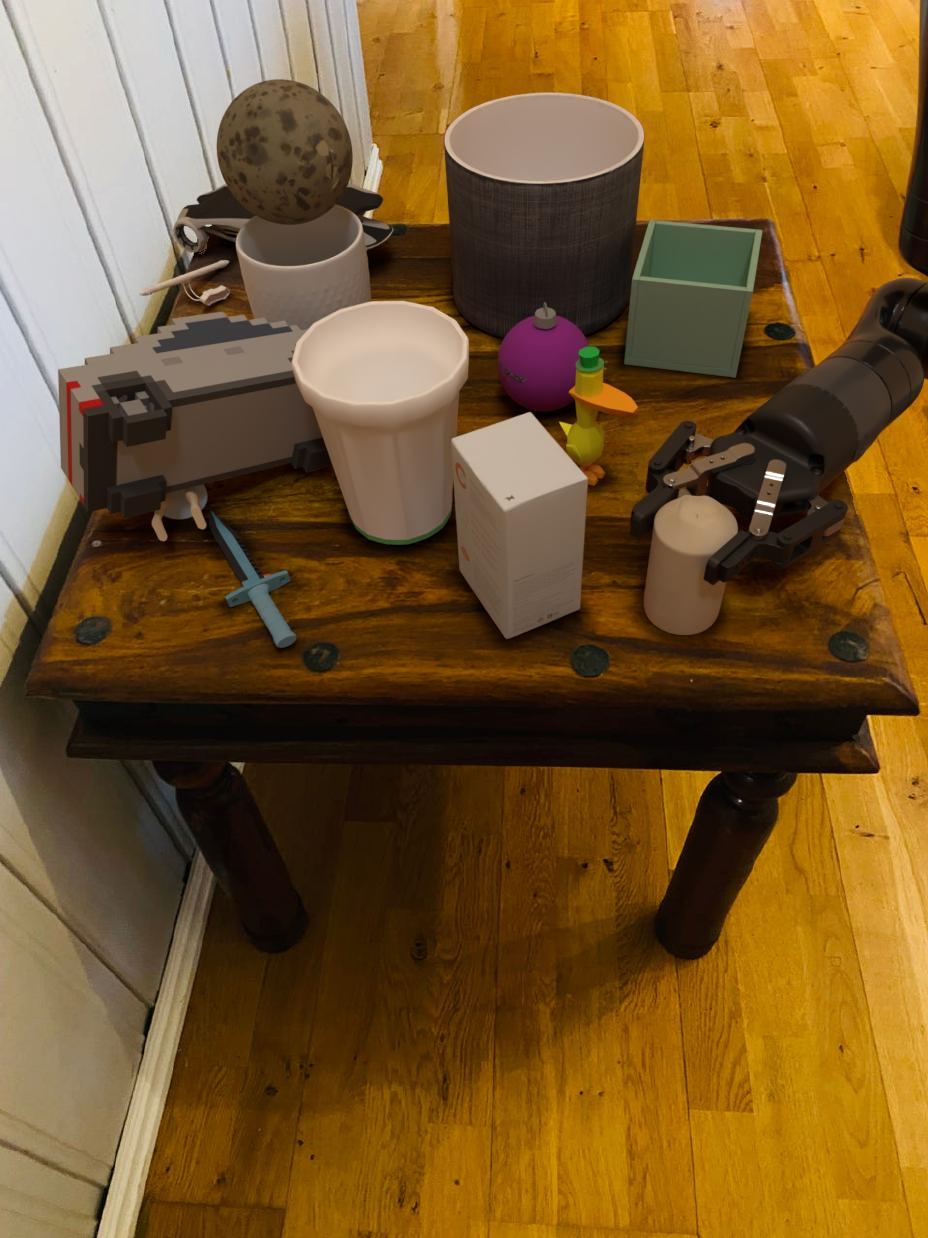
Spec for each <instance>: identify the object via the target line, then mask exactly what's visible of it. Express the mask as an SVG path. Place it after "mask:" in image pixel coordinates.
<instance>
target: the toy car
mask: <svg viewBox="0 0 928 1238" xmlns="http://www.w3.org/2000/svg"><path fill="white" fill-rule="evenodd" d="M170 322H171V323H170V324H168V325H161V326H157V333H152V334H146V335H145V334H144V335H139V336H134V337H133V338H134V339H133V343H129V344H122V345H116V346H112V347H111V346H110V347H109V353H108V354H103V355H102V354H101V355H96V356H90V357H84V364H82V365H77V366H76V365H75V366H70V367H69V366H68V367H64V368H58V369H57V379H58V380H57V382H58V414H59V418H58V419H59V450H60V469H61V471H62V472H63V473H64V475H65V477H66V479H67V481H68V482H69V484H70V486H71V487H72V489H73V491H74V492H75V494H76V496H77V497H78V499H79V501H80V502H81V504H82V506H83V507H84V509H85V511H86V512H87V513H92V512H96V511H101V510H104V509H107V511H108V513H109V514H110V515H114V514H119V513H120V515H121V517H122V518H123V519H124V520H125V519H129V518H133V517H137V516H141V515H144V514H148V513H152V512H155V511H157V510H160V508H161V502H163V501H165V497H166V493H170V492H174V491H178V490H182V489H187V488H191V487H195V486H199V485H203V484H204V485H206V484H210V483H211V484H212V483H214V482H219V481H223V480H228V479H232V478H235V477H236V478H237V477H240V476H245V475H247V474H252V473H256V472H260V471H264V470H268V469H272V468H277V467H280V466H285V465H288V464H290V465H291V466H292V467H293V468H294V469H295V470H296V469H300V468H303V470H304V471H305V473H312V472H315V471H318V470H322V469H323V470H324V469H326V468H327V469H328V468H331V467H333V465H332V462H331V459H330V456H329V453H328V451H327V448H326V445H325V442H324V439H323V436H322V433H321V430H320V427H319V425H318V422H317V419H316V416H315V413H314V410H313V407H312V406H310V405H309V404H308V403H306V402H305V400H304V398H303V396H302V394H301V392H300V390H299V388H298V386H297V383H296V381H295V377H294V373H293V369H292V365H291V363H292V359H293V355H294V351H295V347H296V343H297V341H298V340H299V339H300V338H301V337H302V336H303V335H304V334H305V333H306V331H307V330H308V329H306V330H300V328H299V327H298V326H297V325H293V326H288V324H287V323H286V322H285V321H279V322H272V323H268V322H267V320H266V319H265V318H258V319H254V318H253V319H248V318H247V316H245V314H239V315H232V316H227V314H226V313H225V312H224V311H217V312H210V313H203V314H202V313H201V314H196V315H189V316H182V317H175V318H173V317H172V318H171V321H170Z"/></svg>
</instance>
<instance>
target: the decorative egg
mask: <svg viewBox="0 0 928 1238" xmlns="http://www.w3.org/2000/svg"><path fill="white" fill-rule="evenodd" d="M216 135H217V136H216V157H217V162H218V167H219V170H220V174H221V176H222V179H223V181H224V184H226V185H227V186H228V188H229V190H230V191H231V193H232V194H233V195H234V197H235V198H236V199H237V200H238V201H239V202H240V203H241V204H242V205H243V206H244V207H245V208H246V209H247V210H249V211H250V212H251V213H253V214H255V215H256V216H258V217H260V218H262V219H264V220H267V221H270V222H273V223H277V224H284V225H296V224H303V223H307V222H310V221H313V220H315V219H317V218H319V217H321V216H323V215H324V214H326V213H327V212H328V211H329V210H331V209H332V208H333V207H334V206H335V205H336V204H337V202H338V201H339V200H340V198H341V197H342V195H343V194H344V192H345V190H346V188H347V186H348V183H349V182H350V180H351V176H352V172H353V171H352V170H353V161H354V153H353V144H352V140H351V136H350V132H349V130H348V127H347V125H346V122H345V120H344V119H343V117H342V116H341V114H340V112H339V110H338V109H337V108H336V107H335V106H334V104H333V103H332V102H331V101H330V100H329V99H328V98H327V97H326V96H325V95H324V94H322V93H321V92H319V91H318V90H316V89H315V88H313V87H312V86H309V85H307V84H305V83H302V82H299V81H295V80H291V79H283V78H278V79H275V78H273V79H267V80H264V81H260V82H257V83H255V84H253V85H251V86H249V87H247V88H245V89H244V90H242V91H241V92H240V93H239V94H238V95H237V96H235V98H234V99H233V100H232V101H231V102H230V104H229V105H228V107H227V108H226V109H225V111H224V113H223V115H222V117H221V120H220V123H219V126H218V130H217V134H216Z"/></svg>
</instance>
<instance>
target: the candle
mask: <svg viewBox="0 0 928 1238" xmlns="http://www.w3.org/2000/svg"><path fill="white" fill-rule="evenodd" d="M738 532H739V526H738V521H737V519H736V517H735V515H734V514H733V513H732V511H731V510H729V508H728V507H726V506H725V505H723V504H720V503H719V502H717V501H716V500H714V499H713V498H711V497H709V496H691V495H684V496H682V497H680V498H678V499H675V500H672V501H670V502H668V503H666V504H665V505H664V506H662V507H661V508H660V509H659V511H658V512H657V514H656V516H655V520H654V527H653V530H652V534H651V543H650V548H649V557H648V562H647V563H648V564H647V571H646V577H645V584H644V585H645V586H644V592H643V608H644V612H645V615H646V617H647V618H648V620H649V622H650V623H652V624H653V625H654V626H655V627H656V628H658V629H660V630H661V631H664V632H666V633H669V634H672V635H678V636H693V635H697V634H700V633H702V632H704V631H706V630H708V629H709V628H710V627H712V625H713V624H715V622H716V621H717V618H718V616H719V614H720V610H721V606H722V602H723V597H724V593H725V589H726V584H727V582H725V583H723V582H722V581H720V580H719V581H718V582H717V583H716V584H715V585H711V584H710V583H708V582H706V581H705V580H704V579H703V578H704V573H705V568H706V564H707V562H708V560H709V558H710V557H711V556H712V555H713V554H714V553H716V552H717V551H718V550H719V549H720V548H721V547H722V546H723V545H725V544H726V543H727V542H728V541H729V540H730V539H731V538H732V537H734V536H735V535H736V534H737V533H738Z"/></svg>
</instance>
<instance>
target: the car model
mask: <svg viewBox="0 0 928 1238" xmlns="http://www.w3.org/2000/svg"><path fill="white" fill-rule="evenodd" d="M384 201H385V199H384V197H383V196H382V195H380V194H379V193H378V192H375V191H372V190H370V189H367V188H364V187H361V186H359V185H356V184H355V183H348V186H347V188H346V190H345V192H344V194H343V195H342V197H341V198H340V200H339V201H338V202H337V204H336V205H339V206H342V207H344V208H346V209H348V210H350V211H351V212H353V213H354V214H355V215H356V216H357V217H358V218H359V220H360V221H361V223H362V227H363V232H364V239H365V246H366V248H367V251H368V250H371V249H374V248H377V247H378V246H379V245H382V244H383V243H384V242H387V240H388V239H389V238H390V237H391V236H392V234H393V233H394V228H393V226H392V225H391V224H389V223H387V222H385V221H382V220H378V219H374V218H369V217H367V216H365V215H366V213H367V212H369V211H374V210H378V209H380V208H381V206H382V205H383V203H384ZM196 202H197V203H196V204H195V203H194V204H188V205H187V204H186V206H184V207H183V208H182V209H181V211H180V212H179V215H178V217H177V220H176V221H175V222H174V225H173V230H172V232H173V237H174V239H175V242H176V243H177V244H178V245H179V246H180V248H182V249H183V250H184V251H186V252H187V253H190V254H193V253H199V252H200V251H203V250H204V249H205V248H206V246H207V245H208V244H207V243H208V238H209V235H208V233H209V234H211V235H214V236H216V237H219V238H221V239H225V240H227V241H231V242H234V243H236V237H237V235H238V233H239V231H240V229H241V228H242V227H243V225H244V224H245V223H246V222H247V221H249V220H250V219H251V218H253V217H254V216H256V215H255V214H253V213H251V212H250V211H249V210H247V209H246V208H245V207H244V206H243V205H242V204H241V203H240V202H239V201H238V200H237V199H236V198H235V197H234V195H233V194H232V193H231V191H230V190H229V188H228V186H227V185H226V183H224V184H223V185H221V186H219V187H217V188H215V189H213V190H210V191H208V192H206V193H203V194H200V195H199V196H198V197H197V198H196ZM209 225H210V226H211V227H208V226H209ZM185 227H188V229H190V230H191V231H193V232H194V234H195V236H196V239H197V241H196V242H195V241H193V240H190V238H189V237H187V235H186V232H185Z"/></svg>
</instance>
